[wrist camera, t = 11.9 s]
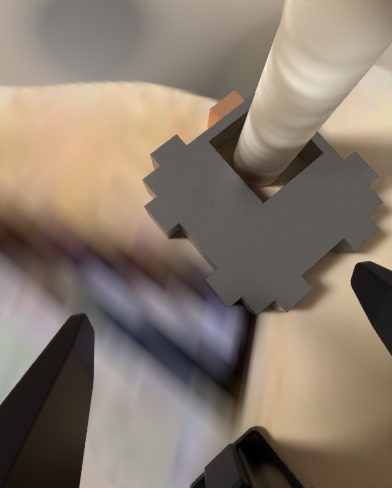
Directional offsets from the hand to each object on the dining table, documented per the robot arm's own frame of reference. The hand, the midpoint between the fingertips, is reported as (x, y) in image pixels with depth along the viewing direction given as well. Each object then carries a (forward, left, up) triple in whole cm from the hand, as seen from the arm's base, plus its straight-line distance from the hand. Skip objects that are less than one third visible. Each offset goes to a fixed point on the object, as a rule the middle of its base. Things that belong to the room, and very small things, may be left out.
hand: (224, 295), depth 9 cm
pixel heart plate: (+3, -8, -14) cm, 16 cm away
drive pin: (+5, -11, -14) cm, 18 cm away
